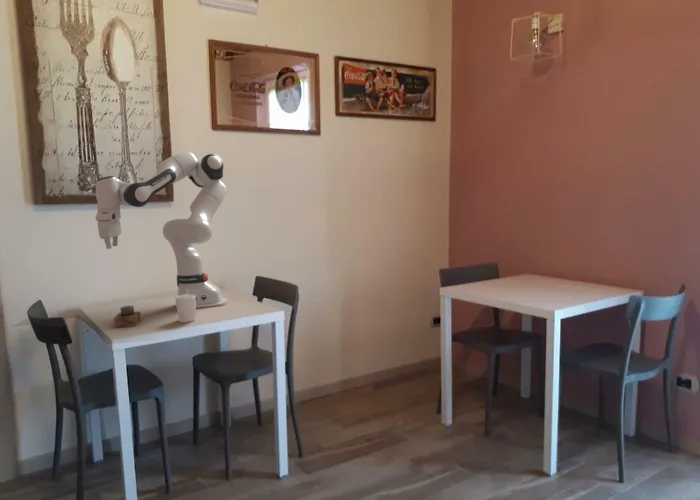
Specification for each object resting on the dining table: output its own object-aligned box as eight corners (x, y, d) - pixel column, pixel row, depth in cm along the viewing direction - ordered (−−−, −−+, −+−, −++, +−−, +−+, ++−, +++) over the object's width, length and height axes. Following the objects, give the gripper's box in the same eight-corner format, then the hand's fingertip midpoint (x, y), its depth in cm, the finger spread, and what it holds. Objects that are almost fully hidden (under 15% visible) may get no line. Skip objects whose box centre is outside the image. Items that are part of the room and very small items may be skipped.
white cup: (179, 318, 233) (177, 294, 232) (198, 317, 234) (197, 293, 233) (175, 323, 226) (173, 298, 224) (195, 322, 226) (193, 297, 225)
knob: (135, 319, 229) (134, 305, 229) (133, 322, 225) (131, 307, 224) (123, 320, 229) (122, 305, 228) (120, 323, 224) (119, 308, 223)
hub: (140, 321, 231) (140, 311, 231) (136, 326, 223) (135, 315, 223) (120, 322, 230) (119, 312, 230) (115, 327, 222) (114, 317, 222)
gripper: (108, 213, 249) (111, 244, 251) (94, 216, 229) (97, 250, 231) (123, 213, 250) (126, 244, 252) (110, 216, 230) (113, 249, 232)
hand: (112, 247), depth 241 cm, fingers open, 8 cm apart
